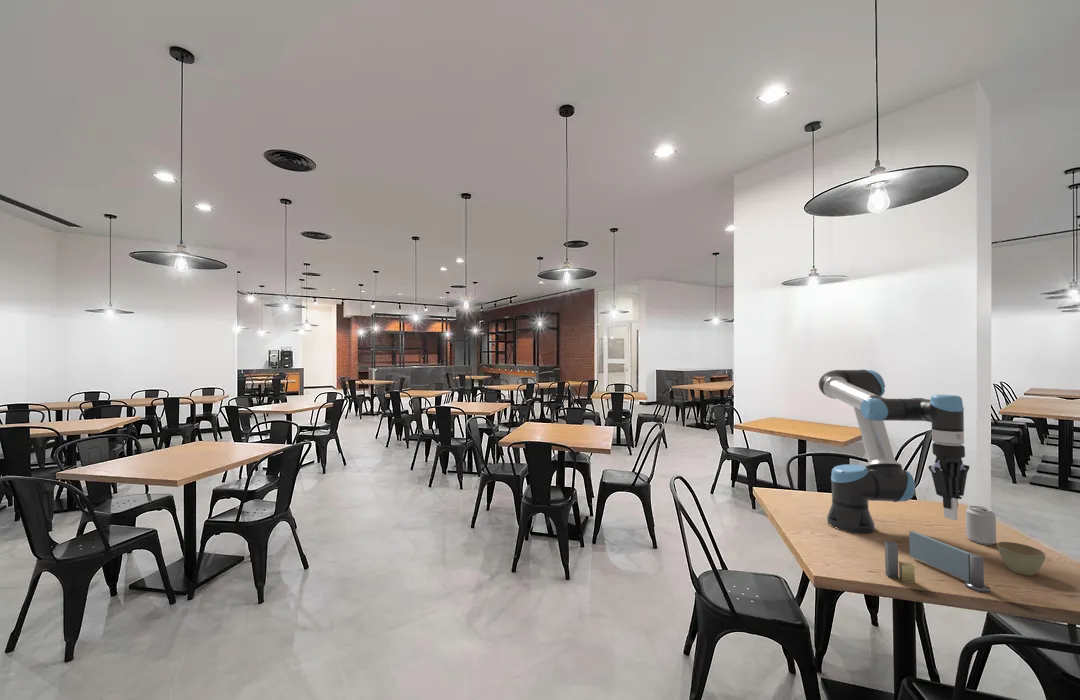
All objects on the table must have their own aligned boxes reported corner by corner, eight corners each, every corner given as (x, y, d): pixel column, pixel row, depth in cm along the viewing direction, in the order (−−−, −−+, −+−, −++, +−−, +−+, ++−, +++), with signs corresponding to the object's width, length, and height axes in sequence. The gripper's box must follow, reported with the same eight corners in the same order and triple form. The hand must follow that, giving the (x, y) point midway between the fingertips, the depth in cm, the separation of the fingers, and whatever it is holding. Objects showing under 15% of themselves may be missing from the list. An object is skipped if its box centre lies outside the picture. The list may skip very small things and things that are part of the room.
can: (1002, 546, 150) (1001, 512, 150) (977, 545, 152) (976, 510, 152) (985, 537, 158) (984, 504, 158) (961, 536, 159) (960, 503, 159)
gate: (986, 586, 122) (986, 558, 123) (978, 587, 122) (978, 559, 122) (915, 555, 142) (914, 530, 142) (908, 556, 142) (907, 531, 142)
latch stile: (891, 580, 128) (890, 546, 128) (885, 573, 132) (884, 540, 132) (914, 583, 126) (914, 549, 126) (908, 576, 130) (907, 543, 130)
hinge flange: (965, 588, 123) (965, 585, 123) (964, 581, 127) (964, 579, 127) (990, 594, 120) (990, 591, 120) (988, 587, 124) (988, 584, 124)
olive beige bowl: (988, 564, 137) (987, 542, 137) (1016, 563, 138) (1015, 540, 138) (1026, 580, 127) (1025, 556, 127) (1056, 579, 128) (1055, 554, 128)
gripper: (943, 446, 133) (946, 524, 132) (978, 445, 135) (981, 521, 134) (918, 442, 140) (921, 515, 139) (952, 440, 142) (954, 513, 141)
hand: (950, 518), depth 137 cm, fingers closed
